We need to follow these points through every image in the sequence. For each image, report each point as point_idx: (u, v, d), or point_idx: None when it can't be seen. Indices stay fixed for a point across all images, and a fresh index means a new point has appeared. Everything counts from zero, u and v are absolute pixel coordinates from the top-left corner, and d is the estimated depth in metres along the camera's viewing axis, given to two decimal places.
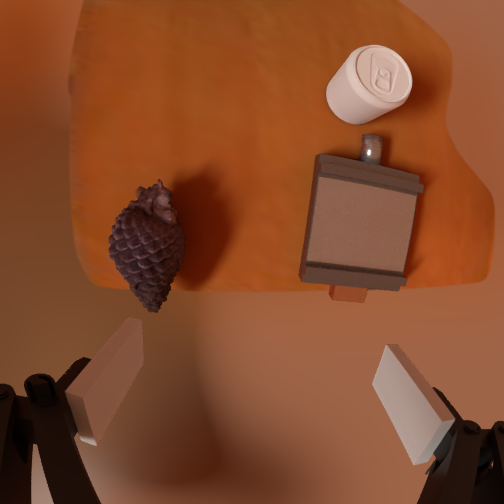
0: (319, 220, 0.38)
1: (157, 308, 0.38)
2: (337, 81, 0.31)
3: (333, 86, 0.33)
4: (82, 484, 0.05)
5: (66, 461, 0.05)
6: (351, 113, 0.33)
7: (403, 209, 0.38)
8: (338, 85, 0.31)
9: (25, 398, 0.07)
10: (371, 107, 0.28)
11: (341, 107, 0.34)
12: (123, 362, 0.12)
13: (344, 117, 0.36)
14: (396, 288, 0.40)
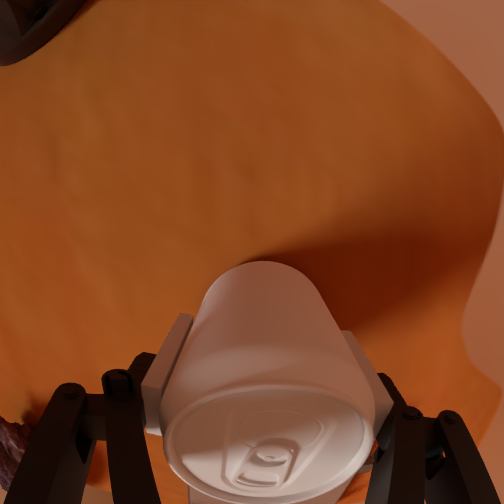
0: None
1: None
2: None
3: None
4: (147, 479, 0.06)
5: (134, 456, 0.06)
6: None
7: None
8: None
9: (94, 395, 0.09)
10: None
11: None
12: None
13: None
14: None
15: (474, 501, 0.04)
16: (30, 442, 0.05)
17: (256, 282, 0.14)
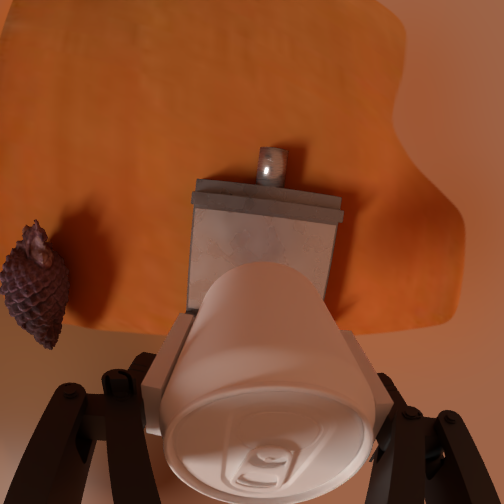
0: (199, 261, 0.32)
1: (49, 346, 0.31)
2: None
3: None
4: (147, 479, 0.06)
5: (134, 456, 0.06)
6: None
7: (315, 244, 0.31)
8: None
9: (94, 395, 0.09)
10: None
11: None
12: None
13: None
14: None
15: (474, 501, 0.04)
16: (30, 442, 0.05)
17: (256, 283, 0.14)
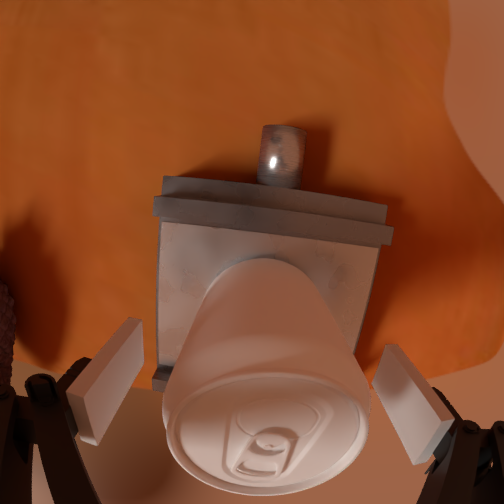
0: (170, 302, 0.20)
1: None
2: None
3: None
4: (83, 484, 0.05)
5: (67, 461, 0.05)
6: None
7: (347, 277, 0.20)
8: None
9: (26, 398, 0.07)
10: None
11: None
12: (123, 362, 0.12)
13: None
14: None
15: None
16: None
17: (256, 278, 0.15)
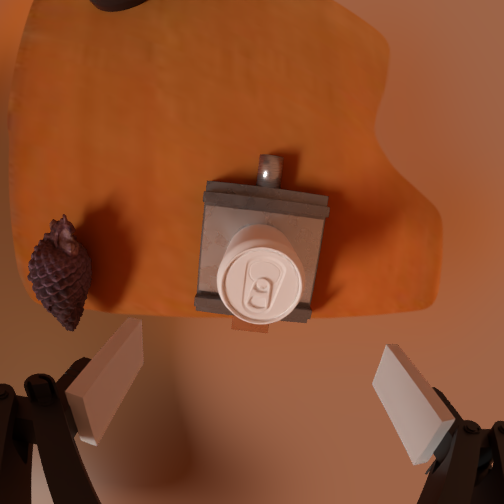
0: (208, 250, 0.38)
1: (71, 328, 0.37)
2: None
3: None
4: (82, 484, 0.05)
5: (66, 461, 0.05)
6: None
7: (306, 235, 0.37)
8: None
9: (25, 398, 0.07)
10: None
11: None
12: (123, 362, 0.12)
13: None
14: (303, 320, 0.40)
15: None
16: None
17: (256, 229, 0.32)
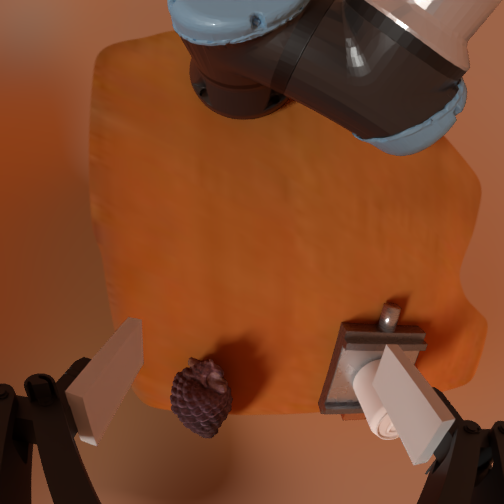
0: (339, 377, 0.44)
1: None
2: (363, 405, 0.38)
3: (360, 397, 0.40)
4: (82, 483, 0.05)
5: (66, 461, 0.05)
6: None
7: None
8: (363, 408, 0.38)
9: (25, 398, 0.07)
10: None
11: None
12: (123, 362, 0.12)
13: None
14: None
15: None
16: None
17: None
